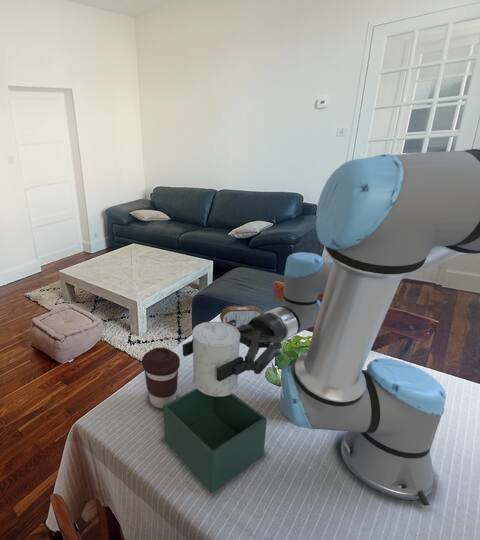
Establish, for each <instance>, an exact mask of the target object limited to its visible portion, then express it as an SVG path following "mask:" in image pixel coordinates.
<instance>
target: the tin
mask: <svg viewBox="0 0 480 540" xmlns="http://www.w3.org/2000/svg"><path fill="white" fill-rule="evenodd" d="M261 314H263V312H262V310H261V309H260V308H259V307H258V306H256V305H231V306H226V307H225V308H223V309H222V310H221V312H220V314H219V319H220V322H223V323H226V322H228V321H230V320H236V324H238V325H240V326H241V325H245V324H248V323H249V322H250V321H251V319H253V318H254V317H256V316H259V315H261Z"/></svg>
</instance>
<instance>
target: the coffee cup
mask: <svg viewBox="0 0 480 540" xmlns="http://www.w3.org/2000/svg"><path fill="white" fill-rule="evenodd" d="M141 366H142V369H143V371H144V377H145V382H146V383H145V384H146V389H147V392H148V398H149V402H150V404H151V405H152V406H153V407H154V408H158V409H163V406H164V405H166V404H168V403H170V402H172V401H173V400H175V399H177V390H178V379H179V369H180V366H181V361H180V356H179V355H178V354H177V353H176V352H175V351H173V350H171V349H170V348H167V347H162V346H161V347H160V346H159V347H154V348H152V349H150V350H148V352H146V353H145V354H144V355H143V356H142V358H141Z"/></svg>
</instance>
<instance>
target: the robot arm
mask: <svg viewBox="0 0 480 540" xmlns="http://www.w3.org/2000/svg"><path fill="white" fill-rule="evenodd" d="M319 195H320V196H319V198H318V202H317V206H316V211H315V214H316V215H317V216H316V219H315V231H316V235H317V238H318V240H319V242H320V244H321V245H322V246H324V250H325V252H326V254H327V255H328V256H329V258H330V259H331V260H332V261H326V262H325V261H324V260H323V257H322V256H321V255H319V254H317V253H313V252H304V251H303V252H302V251H300V252H294V253H292V254H290V255H288V256H287V258H286V261H285V267H284V268H285V269H284V271H283V275H284V276H283V277H284V279H283V291H282V292H283V293H282V299H281V304H280V305H279V306H277V307H274V308H272V309H269V310H267V311H265V312H263V313H262V314H261V315H259V316H256V317H254V318H253V319H251V321H250V322H249V323H248V324H245V325H241V326H240V325H238V324H236V320H230V321H228V322H226V323H227V324H230V325H232V326H234V327H235V328H236V329H238V331H239V332H240V344H243V345H245V346H246V347H247V348H248V350H247V353H246V355H244V357H242V356H240V355H239V357H238V358H236V359H234V360H232V361H230V362H228V363H227V364H225V365H223V366H221V367H219V368H217V380H218V381H219V382H220V381H222V380H224V379H226V378H228V377H230V376H231V375H233V374H235V375H238V376H239V375H241V374H242V373H244V372H246V371H247V372H250V371H253V373H254V374H255V375H260V374H261V373H262V372H263V371H264V370H265V369H266V368H267V366H268V365H269V364H270V363H271V362H272V361H273V360H274V359H275V358H276V357H279V356H281V355H282V347H283V343H282V342H284V341H287V340H289V339H290V338H292V337H294V336H296V335H297V334H300V333H301V332H303V331H305V330H308V329H311V328H313V327H314V328H313V331H312V335H311V339H310V342H309V346H308V349H307V351H305V352H303V353H301V354H300V355H299V356H298V357H297V358H296V361H295V363H294V366H292V365H286V366H282V368H281V370H280V381H281V389H282V396H283V401H284V407H285V410H286V413H287V416H288V419H289V421H290V422H291V423H292V425H294V426H295V427H298V428H306V429H310V430H323V431H336V432H337V431H338V432H346V433H345V434H344V436H343V437H342V439H341V444H340V455H341V458H342V460H343V462H344V464H345V466H346V467H347V469H349V471H350V472H351V473H352V474H353V475H354V476H355V477H356V478H357V479H358V480H360V481H361V482H362V483H364V484H365V485H366V486H368V487H369V488H371V489H373V490H375V491H377V492H379V493H380V494H383V495H385V496H388V497H391V498H395V499H399V500H406V501H415V500H420V502H421V504H422V505H423V506H425V507H427V506H430V503H429V500H428V498H427V496H428V495H429V494H430V493H431V492H432V490H433V487H434V484H435V471H434V467H433V461H432V458H431V452H430V451H431V449H432V444H433V442H434V439H435V436H436V433H437V430H438V427H439V424H440V421H441V419H442V416H443V415H444V413H445V406H446V399H447V393H446V390H445V389H444V387H443V386H442V384H441V383H440V382H439V381H438V380H437V379H436V378H435V377H433V376H432V375H430V374H429V373H428V372H426V371H424V370H423V369H420V368H419V367H417V366H415V365H413V364H411V363H407V362H404V361H401V360H399V359H398V360H397V359H392V358H384V357H383V358H382V357H379V358H373V360H371V361H369V363H368V364H367V366H366V369H364V367H365V364H366V362H367V361H368V360H367V359H368V358H369V355H370V354H371V352H372V351H371V350H372V349H373V346H374V343H375V341H376V339H377V337H378V334H379V333H380V330H381V327H382V325H383V323H384V321H385V318H386V316H387V314H388V311H389V309H390V307H391V304H392V302H393V299H394V298H395V295H396V293H397V290H398V288H399V286H400V283H401V281H402V280H404V279H406V278H409V277H411V276H413V275H416V274H418V273H420V272H423V271H425V270H428V269H430V268H433V267H435V266H437V265H439V264H441V263H444V262H446V261H449V260H450V259H453V258H456V257H458V256H461V255H479V254H480V148H470V149H465V150H449V151H436V152H435V151H433V152H421V153H407V154H391V153H386V154H385V153H384V154H379V155H375V156H370V157H363V158H362V157H361V158H355V159H351V160H349V161H346V162H344V163H342V164H341V165H339V166H338V168H336V169H335V170H334V171H333V172H332V173H331V175H330V176H329V178H328V179H327V180H326V182H325V183H324V186H323V188H322V190H321V193H320V194H319ZM319 295H322V299H321V301H320V300H319ZM260 349H265V350H264V351H263V352H262V353H261V354H260V355H259V356H258V357H257V355H258V353H259V351H260ZM190 355H193V338H192V339H191V340H190V341H188V342H185V343H183V344H182V356H183V357H184V358H185V357H188V356H190ZM256 357H257V358H256Z"/></svg>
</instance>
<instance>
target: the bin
mask: <svg viewBox="0 0 480 540" xmlns="http://www.w3.org/2000/svg"><path fill="white" fill-rule="evenodd" d="M162 410H163V429H164V441H165V443H167V445H168V446H169V447H170V448H171V449H172V451H174V452H175V454H176V455H177V456H178V457H179V458H180V459H181V460H182V461H183V462H184V464H185V465H186V466H187V467H188V468H189V470H190V471H192V473H193V474H194V475H195V476H196V477H197V478H198V480H199V481H201V483H202V484H203V485H204V486H205V487H206V488H207V489H208V491H209V492H210V493H211V494H213V493H214V492H215V491H217V490H219V489H220V488H221V487H222V486H224V485H225V484H226V483H228V482H230V480H232V479H233V478H235V477H236V476H237V475H239V474H240V473H241V472H242V471H244V470H245V469H247V468H248V467H249V466H251V465H252V464H254V463H255V462H256V461H258V460H259V459H260V458H262V457H263V456H264V453H265V443H266V441H265V440H266V431H267V421H268V420H267V419H268V418H267V417H265V416H264V415H263V414H261V413H260V412H259V411H257V410H256V409H255V408H253V407H252V406H251V405H249V404H248V403H246V402H245V401H244V400H242V399H241V398H239V397H238V396H237V395H235V394H234V392H233V393H232V394H230V395H227V396H221V397H217V396H210V395H207V394H205V393H203V392H201V391H199V390H198V389H197V388H196V387H195V388H194V389H192V390H190V391H188V392H187V393H185V394H183V395H181V396H179V397H176V399H175V400H173V401H172V402H170V403H168V404H166V405H164V406H163V408H162Z"/></svg>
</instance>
